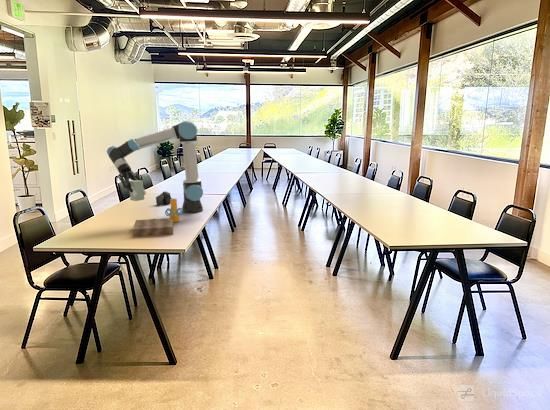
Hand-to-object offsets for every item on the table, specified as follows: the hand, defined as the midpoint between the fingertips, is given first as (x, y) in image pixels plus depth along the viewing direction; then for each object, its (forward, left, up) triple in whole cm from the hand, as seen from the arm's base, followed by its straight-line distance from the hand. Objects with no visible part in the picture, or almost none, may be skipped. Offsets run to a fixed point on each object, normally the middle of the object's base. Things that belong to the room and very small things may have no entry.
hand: (140, 194), depth 239 cm
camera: (-13, -64, -20) cm, 68 cm away
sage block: (+2, -3, -4) cm, 5 cm away
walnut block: (-8, +16, -20) cm, 27 cm away
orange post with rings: (-20, -4, -20) cm, 28 cm away
